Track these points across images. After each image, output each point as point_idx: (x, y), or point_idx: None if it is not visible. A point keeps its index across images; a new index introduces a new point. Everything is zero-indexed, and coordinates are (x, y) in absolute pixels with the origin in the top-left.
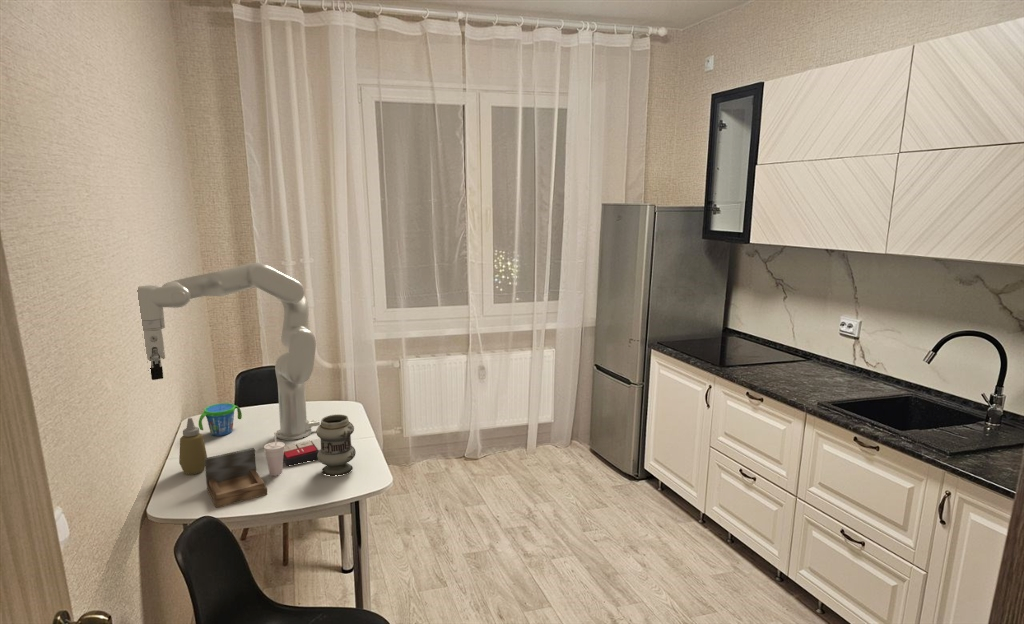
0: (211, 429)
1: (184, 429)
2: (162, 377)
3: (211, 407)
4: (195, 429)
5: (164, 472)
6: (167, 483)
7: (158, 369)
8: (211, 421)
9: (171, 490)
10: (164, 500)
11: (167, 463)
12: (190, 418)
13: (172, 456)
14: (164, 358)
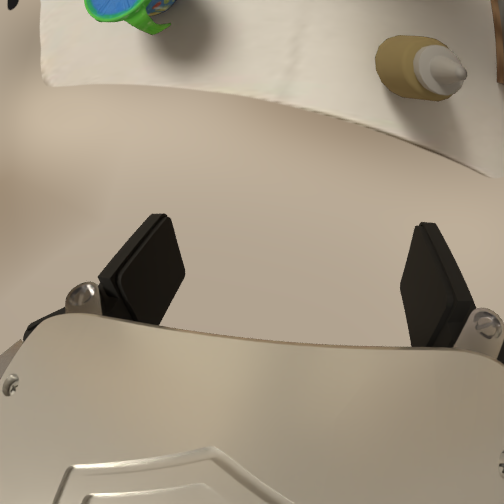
0: (162, 8)
1: (433, 86)
2: (434, 230)
3: (100, 8)
4: (454, 60)
5: (367, 120)
6: (430, 128)
7: (469, 313)
8: (156, 2)
9: (465, 132)
10: (493, 154)
11: (312, 106)
12: (461, 71)
13: (269, 91)
14: (495, 359)
